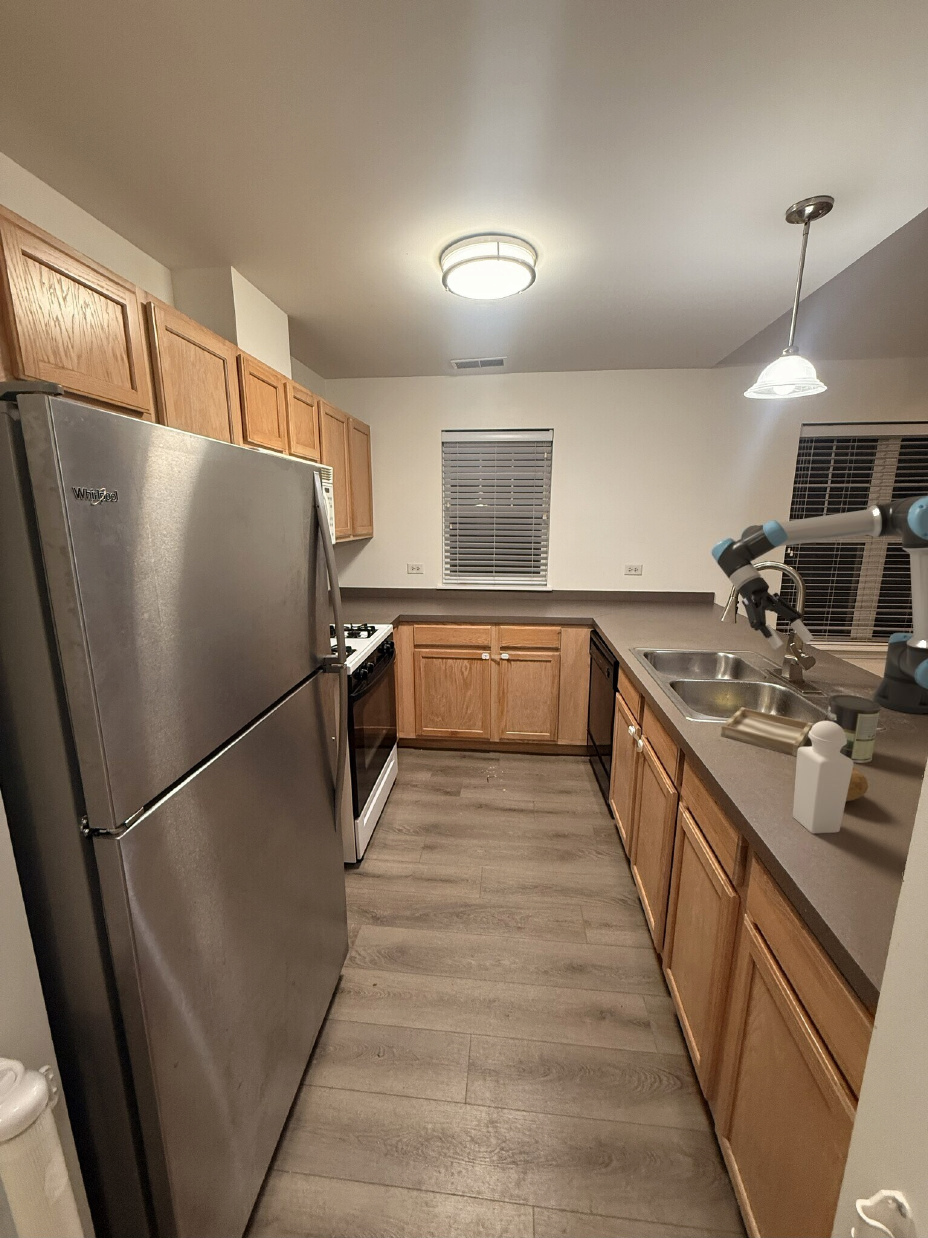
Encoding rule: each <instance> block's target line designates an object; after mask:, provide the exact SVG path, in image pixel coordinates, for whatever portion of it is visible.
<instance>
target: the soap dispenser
mask: <svg viewBox="0 0 928 1238" xmlns="http://www.w3.org/2000/svg"><path fill="white" fill-rule="evenodd" d="M808 736H809V738H808V739H810V741H811V746H803V747H800V748H798V751H797V756H796V768H795V783H794V796H793V811H792V818H794V820H795V821H797V822H798V823H799V824H800V825H801V826H803V827H804V828H805V830H807V831H808V832H809V833H811V834H829V833H830V834H831V833H832V834H833V833H839V832H840V830H841V826H842V820H843V815H844V811H845V807H846V806H845V805H846V802H847V801H846V797H847V793H848V788H849V783H850V778H851V774H852V769H853V768H854V763H853V761H852V760H851V759H850V758H848V757H846V756H845V755H843V754H841V753H840V750H841V748H842V747H843V746H844V745H846V744H847V739H846V737H845V732H844V730H843V729H842V728H841V727H840V726H839V725H838V724H836V723H834V722H831V721H827V720H821V721H818V722H816V723H815V724H813V725H812V729H811V730H810V731H809V734H808Z"/></svg>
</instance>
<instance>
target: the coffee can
mask: <svg viewBox="0 0 928 1238" xmlns="http://www.w3.org/2000/svg"><path fill="white" fill-rule="evenodd" d="M881 710H882V706H881V705H879V704H878V703H876V702H874V701H873V699H869V698H865V697H863V696H857V695H851V694H835V695H831V696H829V698H828V708H827V715H826V721H831V722H834V723H836V724H838V725H839V726H840V727H841V728H842V729H843V730H844V732H845V737H846V739H847V744H846V745H844V746H843V747H842V748H841V750H840V753H841V754H843V755H845V756H846V757H848V758H850V759H851V760H852V761H853V764H855V763H856V764H866V763H869V762H870V763H871V761H872V760H873V753H874V747H875V741H876V735H877V728H878V722H879V717H880V711H881Z"/></svg>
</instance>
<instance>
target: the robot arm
mask: <svg viewBox="0 0 928 1238" xmlns="http://www.w3.org/2000/svg"><path fill="white" fill-rule="evenodd" d="M869 535H870V536H871V537H873V538H881V537H901V542H902V550H904V551H906V552H907V553H908V554H909V559H910V562H909V563H910V579H911V580H910V581H911V586H910V587H911V606H912V608H911V609H912V610H911V611H912V629H913V632H912V633H911V632H895V633H893V634H891V635H890V637H889V640H888V643H887V651H886V659H885V664H884V672H883V677H882V679H881V681H880V683H879V684H878V686H877V687H876V689H875V691H874V692H873V696H872V701H874V702H876V703H878V704H879V705H880V706H881V707H883V708H887V709H888V710H889V709H890V710H893V711H898V712H902V713H909V714H915V713H916V715H917V714H919V715H924V714H923V713H928V495H917V496H911V497H906V498H902V499H899V500H898V499H897V500H895V501H889V502H885V503H880V504H873V505H871V506H870V507H869V508H867V509H863V510H857V511H856V510H855V511H849V512H848V511H847V512H842V513H836V514H835V513H834V514H829V515H828V514H827V515H821V516H814V517H807V518H802V519H801V518H799V519H794V520H788V521H780V522H778V521H777V520H770V521H767V523H763V524H760V525H756V524H755V525H754V524H753V525H750V526H748V527H746V528H745V529H744V530H742V531H741V534H740V539H738V540H737V541H736V540H734V539H733V538H725V539H724V540H723V539H722V540H721V541H718V542H717V543H716V544H715V545H714V546H713V547H712V549H711V556H712V557H713V559H714V560H715V562H716V563H717V565H718V566H719V568H720V569H721V571H723V573H724V574H725V575H726V577H727V579H729V581H730V582H731V583H732V585H733V586H734V588H735V589H736V590H738V594H739V595H740V596H741V597H742V599H743V600H741V604H742V605H743V607H744V609H745V612H746V613H745V614H746V616H747V619H748V622H749V626H750V627H751V629H753V630H754V631H756V632H758V631H760V633H761V634H762V635H763V637H764V638H765V639H766V640H767V641H768V642H769V645H770V646H771V647H772V649H773V650H777V649H778V648H780V647H781V646H783V645H784V642H783V641H782V640H781V638H780V637H779V636H778V634H777V632H776V631H775V630H774V629H773V628H772V626H771V625H770V624H767V619H766V618H767V617H766V614H767V613H766V611H767V612H768V611H769V612H774V613H776V614H777V615H779V616H780V617H781V618H783V619H785V620H786V621H788V622H790V626H791V627H792V628H793V630H794V631H795V633H796V634H797V635H798V637H799V638H800V639H801V641H802V642H803V643H804V644H807V643H808V642H809V641H811V640H813V639H814V638H815V637H814V636H813V634H812V633H811V632H810V631H809V630H808V628H807V627H806V626H805V625H804V623H803V622H802V621H801V619H802V618H803V615H804V614H802V613H801V612H800V611H799V610H798V609H796V608H795V607H794V606H793V605H791V604H790V603H789V602H788V601H786V600H785V599H784V598H783V597H782V596H781V595H780V594H779V593H778V592H774V593H773V594H771V593H770V592H769V589H770V586H769V584H768V582H767V581H766V580H765V578H763V577H762V576H761V573H760V572H759V571H758V570H757V568H756V567H755V566H754V565H753V563H752V561H754V560H757V558H760V557H761V556H763V555H765V554H767V553H768V552H770V551H772V550H774V549H776V548H778V547H784V546H790V545H797V544H798V545H799V544H807V543H816V542H823V541H830V540H837V539H847V538H853V537H860V536H861V537H862V536H869Z"/></svg>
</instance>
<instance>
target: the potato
mask: <svg viewBox="0 0 928 1238" xmlns="http://www.w3.org/2000/svg"><path fill="white" fill-rule="evenodd" d="M868 788H869V785H868V780H867V778H866V776H865V775H864V774H863V773H861V772H860V771H859V770H857V769H856V768H855V767H853V769H852V774H851V778H850V783H849V788H848V793H847V797H846V802H849V801H854V800H857V799H860V798H861V797H863V796H864V795H865V794H866V793H867V791H868Z"/></svg>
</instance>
